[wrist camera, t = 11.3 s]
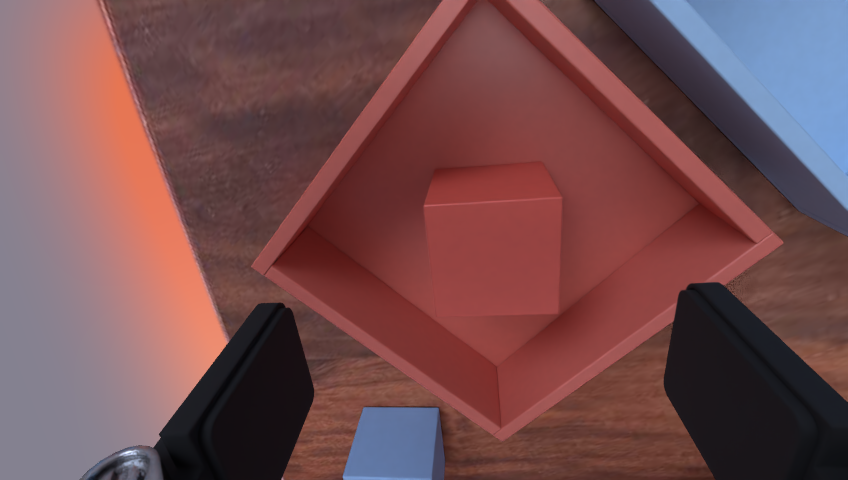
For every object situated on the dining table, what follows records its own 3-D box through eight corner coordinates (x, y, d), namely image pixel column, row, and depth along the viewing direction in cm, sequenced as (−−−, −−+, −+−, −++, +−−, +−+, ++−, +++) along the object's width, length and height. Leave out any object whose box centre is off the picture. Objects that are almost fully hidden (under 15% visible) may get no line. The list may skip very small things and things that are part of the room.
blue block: (374, 459, 27) (357, 533, 23) (363, 406, 25) (342, 476, 21) (445, 461, 26) (440, 537, 22) (438, 407, 25) (431, 479, 20)
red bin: (294, 222, 20) (250, 266, 16) (480, -31, 15) (482, -57, 11) (497, 372, 23) (502, 442, 19) (714, 197, 18) (785, 243, 14)
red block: (443, 262, 20) (435, 318, 16) (434, 168, 18) (423, 205, 14) (541, 258, 19) (559, 315, 15) (542, 160, 17) (563, 196, 13)
